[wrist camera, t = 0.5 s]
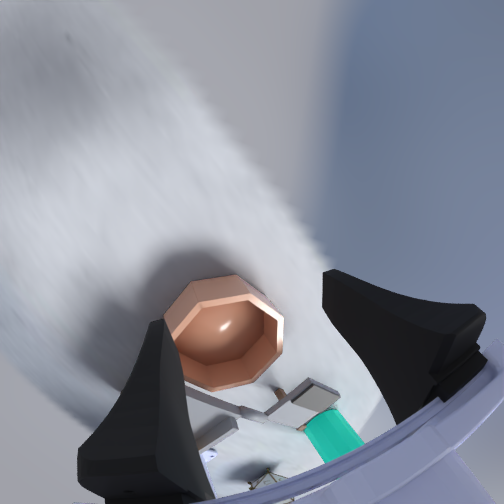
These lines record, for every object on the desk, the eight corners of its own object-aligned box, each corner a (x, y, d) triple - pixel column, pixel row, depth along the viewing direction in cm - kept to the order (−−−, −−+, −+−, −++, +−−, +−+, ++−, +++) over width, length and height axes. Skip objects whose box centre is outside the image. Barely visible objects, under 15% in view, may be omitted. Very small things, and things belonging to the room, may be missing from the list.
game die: (257, 463, 41) (265, 508, 36) (229, 473, 35) (238, 522, 29) (303, 460, 38) (311, 507, 32) (280, 472, 31) (289, 525, 26)
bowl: (224, 376, 26) (234, 400, 23) (146, 336, 22) (147, 362, 19) (285, 310, 26) (303, 330, 23) (212, 255, 22) (223, 273, 19)
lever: (238, 460, 26) (245, 481, 23) (117, 426, 19) (116, 454, 16) (337, 391, 24) (352, 413, 21) (220, 329, 17) (229, 362, 15)
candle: (297, 437, 35) (336, 497, 24) (316, 411, 34) (362, 473, 23) (327, 432, 38) (366, 485, 27) (346, 407, 36) (391, 461, 26)
